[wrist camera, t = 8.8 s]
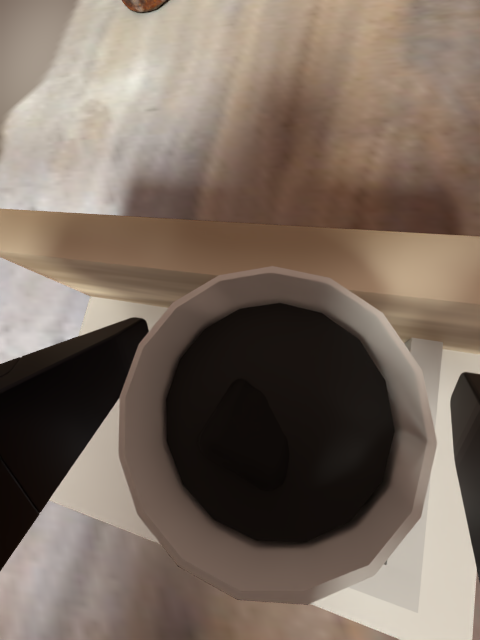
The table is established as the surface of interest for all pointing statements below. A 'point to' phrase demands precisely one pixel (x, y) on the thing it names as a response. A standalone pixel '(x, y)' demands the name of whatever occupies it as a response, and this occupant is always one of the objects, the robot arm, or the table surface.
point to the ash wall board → (256, 263)
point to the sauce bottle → (143, 5)
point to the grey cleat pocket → (403, 564)
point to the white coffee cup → (276, 435)
